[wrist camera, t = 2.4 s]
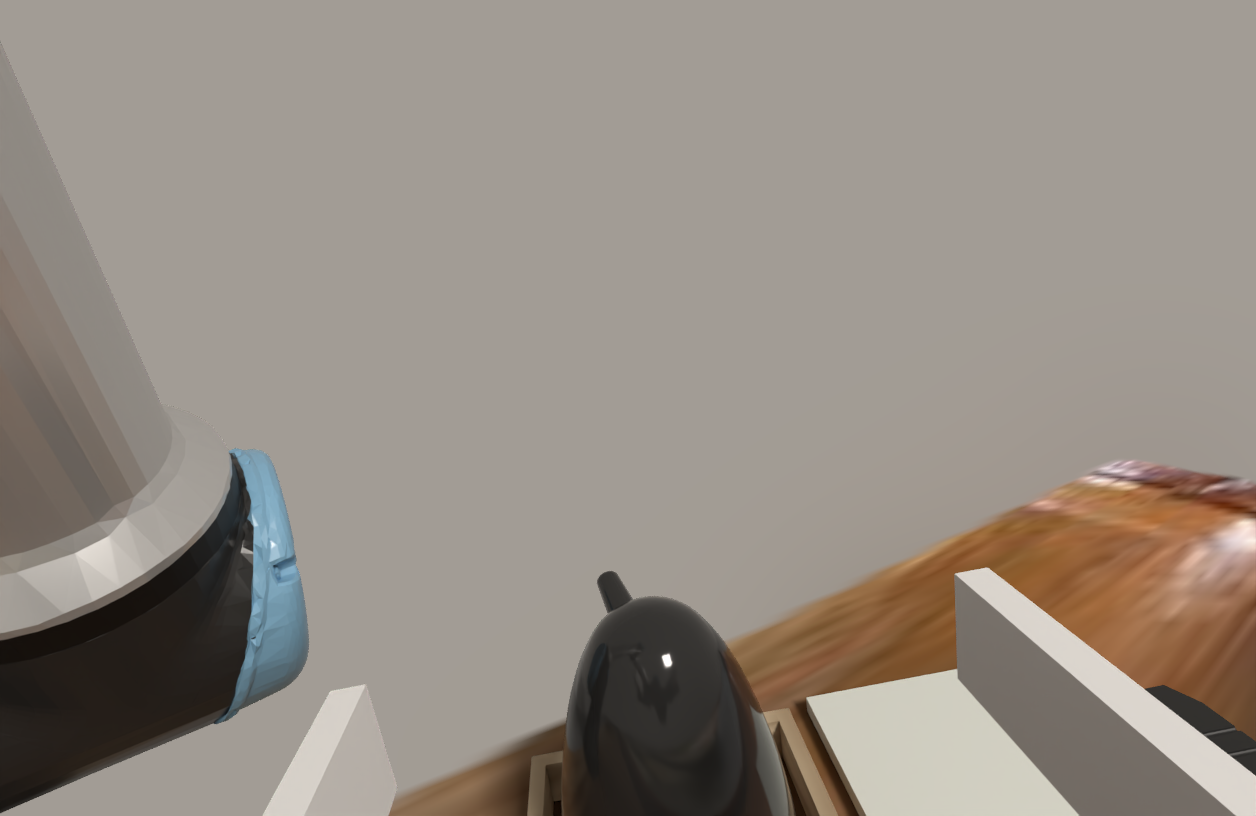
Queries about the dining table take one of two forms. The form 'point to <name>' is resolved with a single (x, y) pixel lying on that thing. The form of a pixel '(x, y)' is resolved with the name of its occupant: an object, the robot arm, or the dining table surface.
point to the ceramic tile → (928, 752)
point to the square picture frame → (788, 744)
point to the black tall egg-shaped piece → (665, 720)
